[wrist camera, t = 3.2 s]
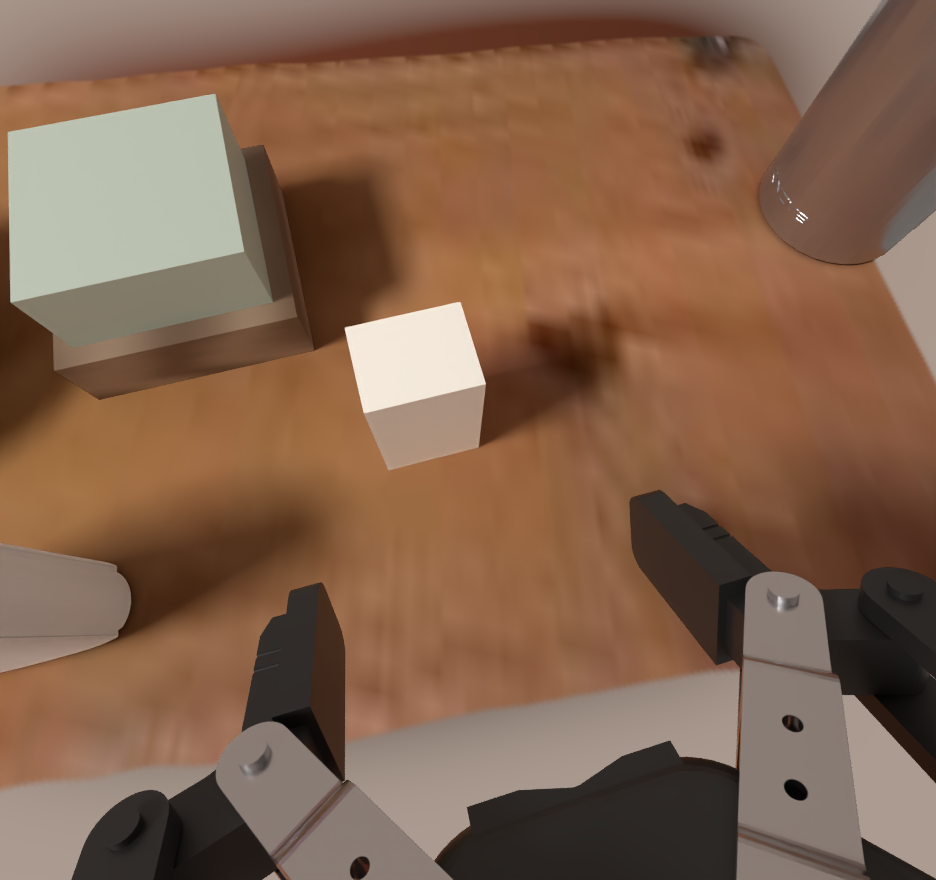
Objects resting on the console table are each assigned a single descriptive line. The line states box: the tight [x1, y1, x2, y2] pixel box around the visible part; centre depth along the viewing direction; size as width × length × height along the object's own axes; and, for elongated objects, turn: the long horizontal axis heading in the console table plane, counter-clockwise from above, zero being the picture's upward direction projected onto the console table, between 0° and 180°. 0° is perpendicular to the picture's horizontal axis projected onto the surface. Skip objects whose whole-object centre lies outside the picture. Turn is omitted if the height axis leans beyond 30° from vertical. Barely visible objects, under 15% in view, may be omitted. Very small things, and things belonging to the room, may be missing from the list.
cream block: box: [345, 302, 486, 470], centre depth 26 cm, size 5×4×8 cm
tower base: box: [53, 145, 315, 400], centre depth 31 cm, size 12×12×4 cm
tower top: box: [8, 94, 273, 348], centre depth 27 cm, size 10×10×4 cm
